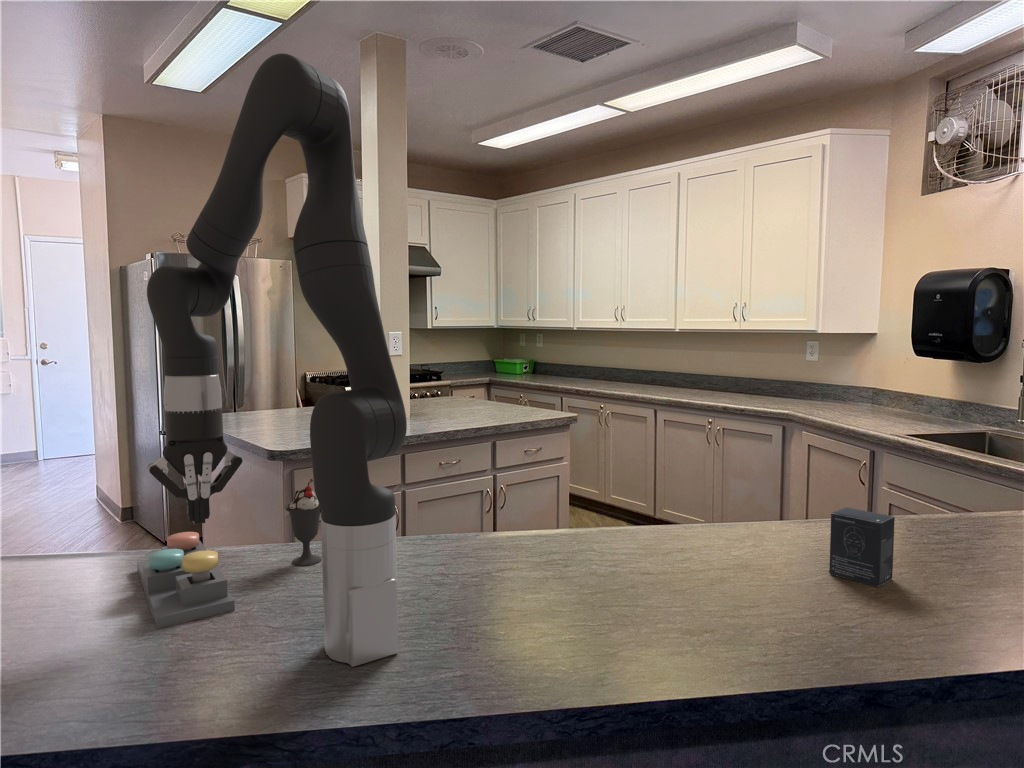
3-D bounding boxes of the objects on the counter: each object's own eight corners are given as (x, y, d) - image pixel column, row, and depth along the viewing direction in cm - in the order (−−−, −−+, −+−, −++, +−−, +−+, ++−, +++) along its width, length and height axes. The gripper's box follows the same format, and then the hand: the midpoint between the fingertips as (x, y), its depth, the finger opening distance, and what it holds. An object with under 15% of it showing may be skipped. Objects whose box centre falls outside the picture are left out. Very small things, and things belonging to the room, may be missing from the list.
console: (234, 610, 95) (233, 583, 95) (157, 628, 89) (155, 600, 89) (201, 558, 116) (200, 536, 116) (137, 570, 111) (136, 547, 110)
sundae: (320, 568, 112) (317, 482, 110) (281, 567, 112) (278, 481, 110) (331, 554, 118) (329, 473, 117) (294, 554, 118) (292, 473, 117)
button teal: (187, 580, 101) (186, 555, 100) (152, 588, 98) (150, 561, 98) (182, 571, 105) (181, 546, 104) (148, 578, 102) (146, 552, 102)
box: (892, 579, 106) (895, 516, 105) (878, 588, 102) (881, 522, 101) (843, 566, 112) (845, 505, 111) (827, 574, 108) (830, 511, 107)
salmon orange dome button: (202, 561, 109) (201, 537, 109) (170, 567, 107) (169, 542, 106) (197, 553, 113) (196, 530, 113) (166, 558, 111) (165, 535, 110)
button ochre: (221, 584, 96) (220, 557, 96) (186, 591, 93) (184, 564, 93) (215, 574, 100) (214, 548, 100) (180, 581, 97) (179, 554, 97)
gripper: (144, 412, 88) (151, 537, 89) (247, 405, 95) (252, 521, 97) (138, 406, 94) (145, 524, 95) (236, 400, 101) (240, 509, 103)
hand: (199, 522), depth 96 cm, fingers closed
